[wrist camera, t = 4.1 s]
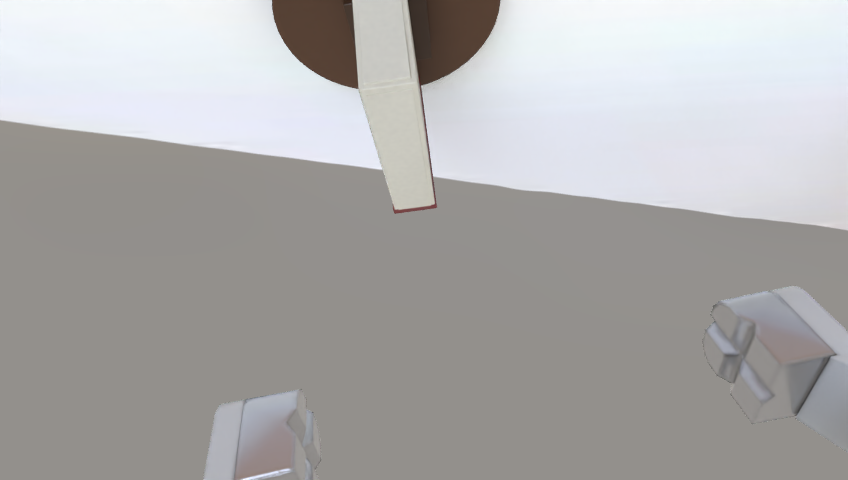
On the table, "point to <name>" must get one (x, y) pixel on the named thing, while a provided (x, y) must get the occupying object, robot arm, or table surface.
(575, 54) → the table surface
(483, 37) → the upright block on disc
